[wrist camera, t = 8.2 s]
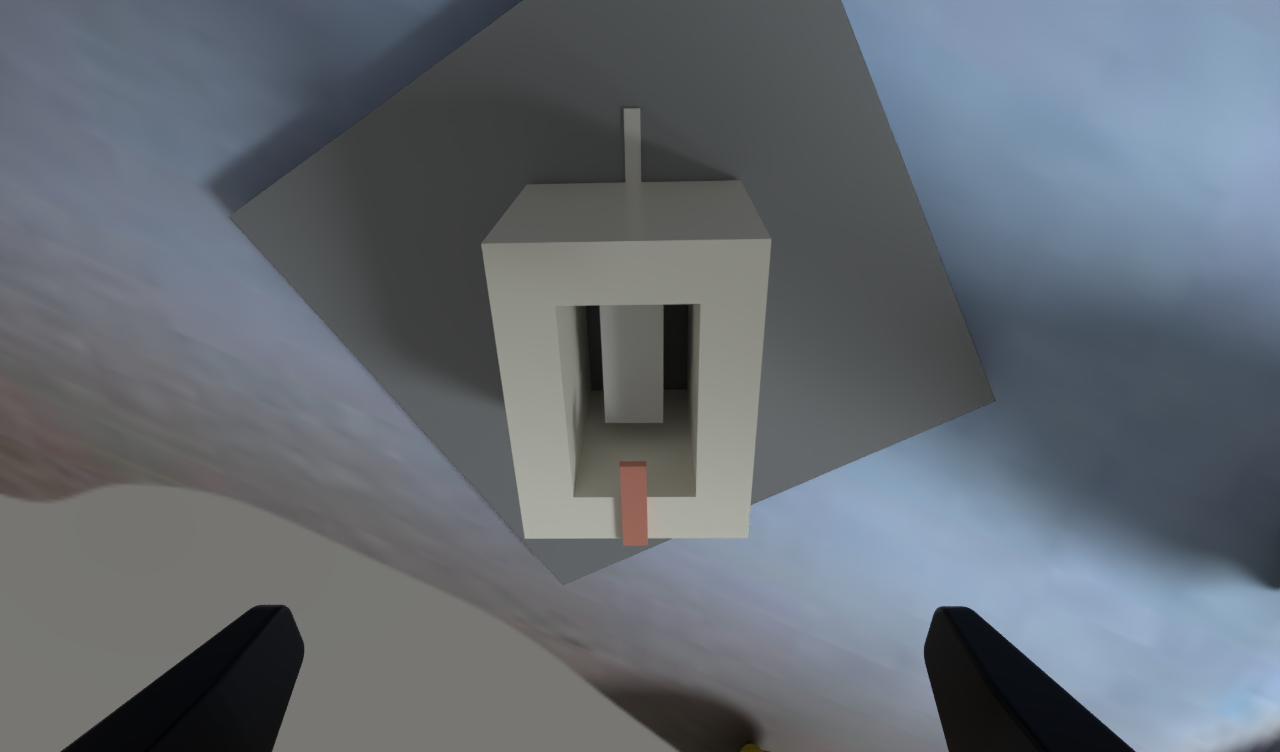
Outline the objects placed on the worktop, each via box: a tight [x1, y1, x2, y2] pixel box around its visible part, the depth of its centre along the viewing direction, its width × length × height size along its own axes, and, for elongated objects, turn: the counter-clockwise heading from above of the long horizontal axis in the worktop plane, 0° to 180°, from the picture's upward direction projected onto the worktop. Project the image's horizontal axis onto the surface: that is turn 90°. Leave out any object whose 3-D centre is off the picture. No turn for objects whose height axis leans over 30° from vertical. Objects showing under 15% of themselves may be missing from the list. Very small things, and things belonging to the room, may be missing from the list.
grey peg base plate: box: [229, 0, 996, 585], centre depth 17 cm, size 16×16×4 cm
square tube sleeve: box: [481, 180, 771, 546], centre depth 16 cm, size 6×8×5 cm
